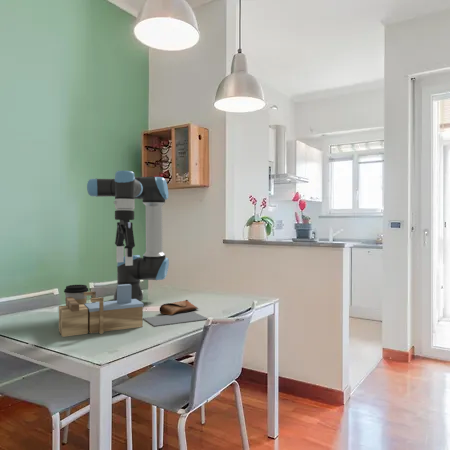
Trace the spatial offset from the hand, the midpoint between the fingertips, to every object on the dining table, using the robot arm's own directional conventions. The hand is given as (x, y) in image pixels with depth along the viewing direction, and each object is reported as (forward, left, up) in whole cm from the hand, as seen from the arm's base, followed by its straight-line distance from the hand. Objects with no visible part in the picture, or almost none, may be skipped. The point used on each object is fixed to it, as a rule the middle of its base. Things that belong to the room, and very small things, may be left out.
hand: (124, 263), depth 157 cm
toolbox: (0, -9, -25) cm, 26 cm away
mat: (0, +22, -25) cm, 33 cm away
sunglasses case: (-12, +29, -25) cm, 40 cm away
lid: (0, -4, -17) cm, 17 cm away
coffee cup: (-13, -16, -25) cm, 32 cm away
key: (0, -19, -15) cm, 25 cm away
